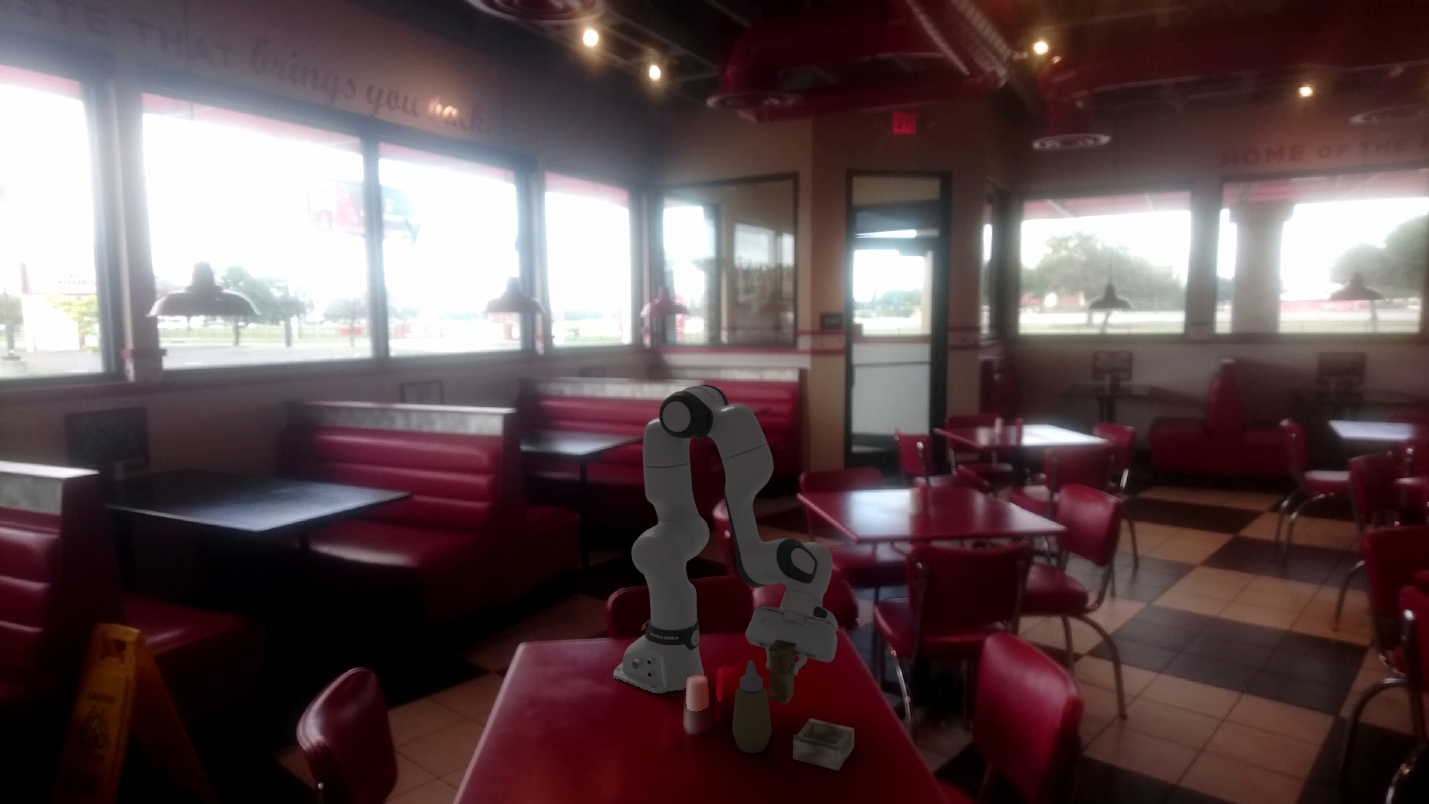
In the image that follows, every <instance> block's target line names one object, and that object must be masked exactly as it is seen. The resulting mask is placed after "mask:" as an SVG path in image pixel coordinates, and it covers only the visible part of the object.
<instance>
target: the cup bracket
mask: <svg viewBox="0 0 1429 804" xmlns="http://www.w3.org/2000/svg"><path fill="white" fill-rule="evenodd" d="M854 748H855V728H854V727H849V726H845V725H840V724H837V723H832V722H828V721H825V720H824V721H823V720H820V719H816V718H815V719H814V718H809V719H808V721H807V722H806V723H805V725H804V726H803V727H802V728H801V730H800V731H799V732H798V733H797V734H793V735H792V754H793V755H792V759H793V760H796V761H799V762H804V763H806V764H807V763H808V764H811V765H816V766H820V767H822V768H826V769H830V770H835V771H839V770H840V769H841V768H842V766H843V764H844V763H845V762H846V760H847V759H848V757H849V756H850V754H851V753H852V751H853V750H854Z"/></svg>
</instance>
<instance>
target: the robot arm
mask: <svg viewBox="0 0 1429 804" xmlns="http://www.w3.org/2000/svg"><path fill="white" fill-rule="evenodd" d="M643 433H644V434H643V443H642V444H643V446H642V464H643V478H644V479H643V480H644V481H643V482H644V493H645V497H646V500H647V501H648V502H649V503H651V504H652V506H653V507H654V510H655V512H656V516H657V522H658V523H657V524H656V525H654V526H652V527H651V528H648V529H647V530H644V532H643V533H641V534H640V535H639V536H638V538H637V539H636V540H635V541H634V543H633V545H632V548H631V558H632V559H631V560H632V562H633V564H634V566H635V568H636V569H637V570H638V571H639V572H640V573H642V574H643V575H644V578H645V580H646V583H647V588H648V592H649V603H650V605H649V606H650V619H648V620H646V622H645V623H644V624H642V625H641V627H642V629H641V631H644V630H645V633H644V634H643V635H642V636H641V637H639V638H638V639H636V640H635V641H634V642H632V643H631V644H630V645H629V646H628V647H627V648H626V650H625V651H624V654H623V658H622V662H621V663H619V665H617V667H615V668H614V671H613V676H612V677H613V679H615V678H616V679H615V680H618V679H620V680H622V681H621V682H623V681H624V682H623V683H625V682H628V683H630V684H629V685H631V684H633V685H635V686H634V687H636V686H637V687H636V688H638V687H640V688H639V689H641V688H642V689H641V690H644V691H646V690H648V691H647V692H649V691H650V693H651V692H652V694H654V693H660V694H664V693H667V691H668V692H673V691H675V690H677V691H683V690H685V689H684V687H685V684H686V681H687V678H688V677H689V676H693V675H696V674H702V675H704V674H705V671H704V669H703V664H702V660H701V654H700V649H699V647H700V646H699V643H700V626H699V624H700V623H699V619H698V617H697V616H698V614H697V613H698V611H697V609H698V608H697V606H698V605H697V591H696V588H695V586H694V585H693V584H692V583H691V582H690V581H689V578H688V573H687V569H686V567H687V562H688V561H690V560H692V559H694V558H695V557H696V556H698V555H699V554H700V553H702V551H703V549H704V548H705V547H706V545H707V544H708V542H709V540H710V528H709V525H708V524H707V521H705V519H704V518H703V517H701V515H700V513H699V511H698V508H697V505H696V501H695V499H694V493H693V486H692V473H691V472H692V471H691V458H690V443H691V441H692V439H705V438H706V437H709V438H711V439H712V441H714V443H715V445H716V447H717V451H718V453H719V455H720V459H721V462H722V465H723V469H724V474H725V484H724V489H723V491H724V492H723V493H724V494H723V495H724V501H725V507H726V511H727V512H726V513H727V516H728V520H729V525H730V528H731V529H730V530H731V534H732V537H733V542H734V549H735V559H736V560H735V561H736V568H737V569H736V570H737V573H738V574H739V577H740V579H741V580H742V581H743V583H745V584H746V585H747V586H749V587H751V588H755V589H757V588H763V587H767V586H769V585H778V584H782V585H783V586H785V588H786V589H785V592H784V594H783V598H782V600H781V603H780V606H779V607H777V606H769V605H768V604H762V605H760V606H757V607H756V608H755V609H754V610H753V614H752V617H751V620H750V621H749V624H748V626H747V628H746V631H745V633H744V634H745V637H746V640H747V642H748V643H749V644H750V645H753V646H756V647H761V648H764V650H765V654H766V658H767V659H766V662H765V668H766V669H768V670H770V651H769V647H770V646H771V645H772V644H773V643H774V642H775V641H776V640H777V639H778V640H782V641H787V642H791V643H795V644H796V646H795V649H794V651H795V656H798V660H797V661H795V662H794V664H791V665H790V668H789V673H790V674H792V675H794V676H798V672H799V669H801V668H802V667H803V666H804V665H805V664H806V663H807V661H808V659H811V660H816V661H820V662H824V663H827V664H829V663H831V662H832V661H833V660H834V659H835V657H836V656H835V655H836V653H837V652H836V651H837V646H838V636H837V633H836V632H837V630H838V628H839V625H838V621H837V619H836V617H835V615H834V614H833V612H831V611H830V610H828V609H826V608H825V607H823V598H824V596H825V593H826V592H827V591H828V587H829V585H830V581H831V577H832V571H833V561H834V560H833V554H832V552H830V550H829V549H828V548H827V547H826V546H824V545H823V544H821V543H818V542H815V541H807V542H801V541H800V540H798V539H796V538H794V537H793V538H792V537H790V538H789V537H788V538H787V537H786V538H779V539H774V540H770V541H763V540H762V539H761V537H760V535H759V530H758V525H757V521H756V517H755V513H754V506H753V505H754V499H755V497H756V496H757V494H758V493H759V492H760V491H761V490H762V489H763V488H764V487H765V486H766V485H767V483H769V481H770V479H771V478H772V475H773V472H774V460H773V454H772V451H771V449H770V446H769V444H768V441H767V439H766V436H765V434H764V431H763V430H762V427H761V424H760V423H759V420H758V419H757V417H756V415H755V413H754V412H753V411H752V409H751V408H750V407H749V406H748V405H746V404H743V403H731V404H729V400H728V398H727V396H726V394H725V393H724V392H723V390H721V389H720V388H718V387H716V386H713V385H709V384H702V385H695V386H694V385H693V386H690V387H687V388H685V389H682V390H679V391H676V392H673V393H671V394H670V395H668V396H667V397H666V398H665V399H664V401H662V404H661V406H660V408H659V411H658V416H657V417H654V418H653V419H651V420H649V421H648V423H647V424H646V425H645V428H644V432H643ZM620 680H619V681H620ZM628 683H627V684H628ZM633 685H632V686H633Z"/></svg>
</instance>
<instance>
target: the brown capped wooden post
mask: <svg viewBox="0 0 1429 804" xmlns="http://www.w3.org/2000/svg"><path fill="white" fill-rule="evenodd" d="M795 646H796V644H795V643H791V642H787V641H782V640H778V639H777V640H776V641H775V642H774V643H773V644H772V645H771V646H770V647H769V651H770V669H769V680H768V681H769V684H768V685H769V687H768V701H771V702H776V703H780V704H783V705H787V704H788V703H789V701H791V699H792V698H793V697H794V687H795V686H794V683H795V682H794V680H795V679H794V678H795V675H792V674H790V673H789V668H790V665H791V664H795V656H796V655H795V651H794V649H795Z"/></svg>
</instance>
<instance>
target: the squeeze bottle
mask: <svg viewBox="0 0 1429 804" xmlns="http://www.w3.org/2000/svg"><path fill="white" fill-rule="evenodd" d="M763 681H764V680H763V677H761V676H760V675H758V674H757V669H756V665H755V661H754V660H748V661H747V666H746V669H745V673H744V675H742V676H741V677H740V678H739V686H738V687H737V688H736V690H735V694H734V707H733V717H732V726H731V727H732V728H731V729H732V734H733V737H734V740H735V742H736V744H737V747H738V749H739V750H741V751H742V752H744V753H749V754H757V753H761V752H763V751H764V750H766V748H767V746H768V743H769V740H770V738H771V735H772V721H771V714H770V713H771V712H770V705H769V693H768V690H767V688H766V687H765V686H764V684H763V683H764V682H763Z"/></svg>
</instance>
